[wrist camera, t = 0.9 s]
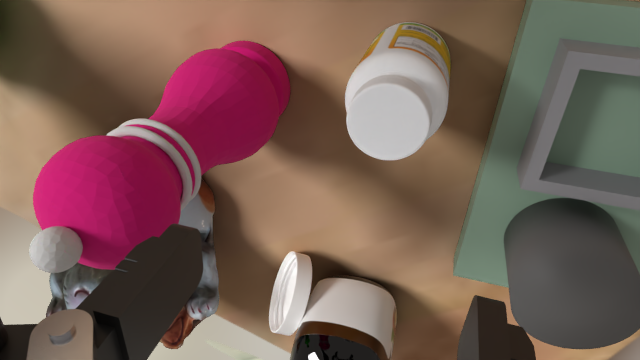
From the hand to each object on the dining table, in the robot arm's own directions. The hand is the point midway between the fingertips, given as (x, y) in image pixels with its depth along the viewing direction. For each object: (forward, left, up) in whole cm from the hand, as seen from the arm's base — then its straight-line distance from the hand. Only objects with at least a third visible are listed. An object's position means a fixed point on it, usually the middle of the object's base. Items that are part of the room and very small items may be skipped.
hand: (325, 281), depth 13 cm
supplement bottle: (0, 0, -20) cm, 20 cm away
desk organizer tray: (+5, +12, -20) cm, 24 cm away
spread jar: (+22, -3, -20) cm, 30 cm away
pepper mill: (+3, -11, -20) cm, 23 cm away
